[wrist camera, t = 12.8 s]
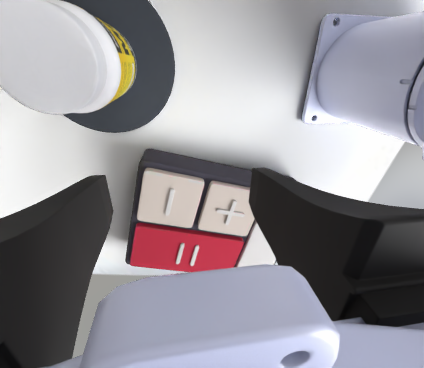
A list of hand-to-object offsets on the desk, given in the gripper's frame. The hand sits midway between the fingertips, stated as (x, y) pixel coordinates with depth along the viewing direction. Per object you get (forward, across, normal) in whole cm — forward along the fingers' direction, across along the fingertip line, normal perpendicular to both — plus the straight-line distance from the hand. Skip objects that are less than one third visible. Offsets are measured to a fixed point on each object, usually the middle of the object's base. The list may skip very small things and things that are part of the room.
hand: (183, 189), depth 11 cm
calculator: (+10, -3, +8) cm, 13 cm away
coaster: (+9, +5, -6) cm, 12 cm away
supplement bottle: (+9, +5, -6) cm, 12 cm away
